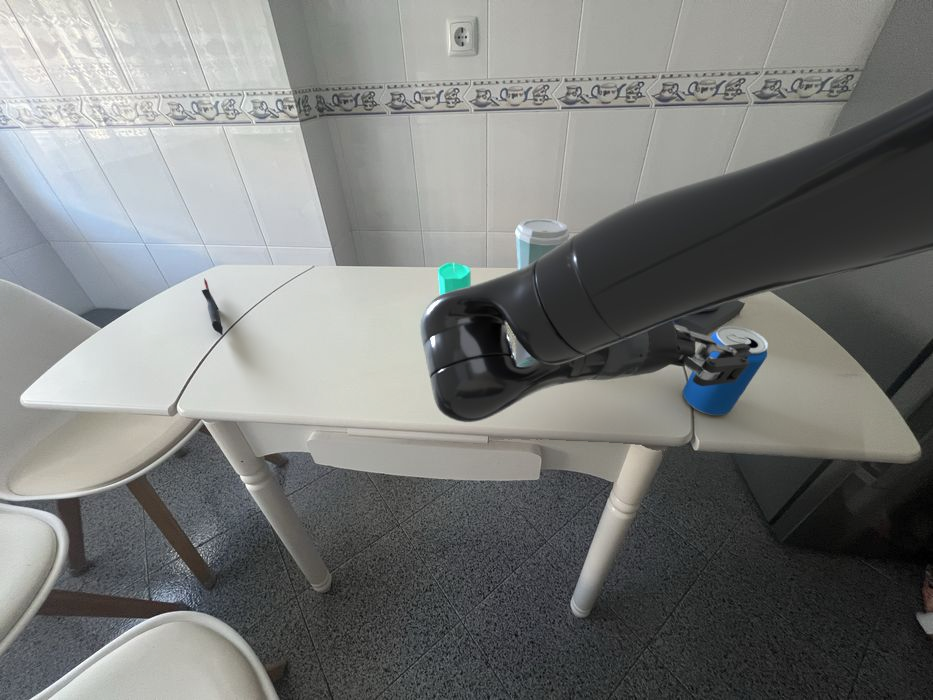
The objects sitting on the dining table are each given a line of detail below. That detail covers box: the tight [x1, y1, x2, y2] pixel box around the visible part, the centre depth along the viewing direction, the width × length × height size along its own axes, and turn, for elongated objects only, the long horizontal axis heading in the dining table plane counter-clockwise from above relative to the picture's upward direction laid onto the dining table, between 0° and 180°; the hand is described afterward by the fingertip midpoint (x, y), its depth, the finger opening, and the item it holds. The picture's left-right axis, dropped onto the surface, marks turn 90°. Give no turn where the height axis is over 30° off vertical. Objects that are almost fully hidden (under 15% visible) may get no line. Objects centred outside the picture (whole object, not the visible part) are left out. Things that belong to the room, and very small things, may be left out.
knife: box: [201, 278, 224, 336], centre depth 76 cm, size 24×2×5 cm, turn 35°
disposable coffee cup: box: [514, 217, 570, 270], centre depth 76 cm, size 11×11×15 cm
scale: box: [676, 300, 746, 336], centre depth 72 cm, size 14×14×3 cm
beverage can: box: [682, 325, 769, 416], centre depth 50 cm, size 6×6×12 cm
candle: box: [437, 261, 472, 296], centre depth 69 cm, size 6×6×12 cm
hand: (709, 331), depth 44 cm, fingers open, 8 cm apart
